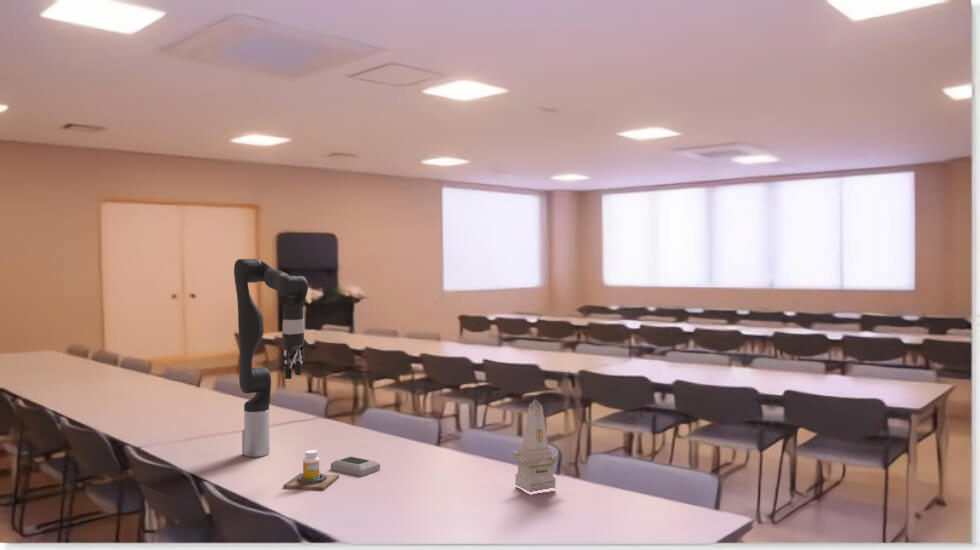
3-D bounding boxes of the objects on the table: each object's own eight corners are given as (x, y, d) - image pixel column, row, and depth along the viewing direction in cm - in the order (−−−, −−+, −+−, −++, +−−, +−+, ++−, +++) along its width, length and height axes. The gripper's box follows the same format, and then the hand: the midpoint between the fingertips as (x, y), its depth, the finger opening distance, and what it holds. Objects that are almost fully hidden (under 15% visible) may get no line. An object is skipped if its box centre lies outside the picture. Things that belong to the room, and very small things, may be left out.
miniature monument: (529, 496, 243) (530, 402, 242) (513, 487, 252) (513, 397, 251) (557, 491, 247) (557, 400, 246) (540, 482, 257) (540, 394, 256)
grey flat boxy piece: (361, 467, 263) (330, 460, 272) (361, 477, 263) (330, 470, 272) (380, 460, 271) (349, 454, 279) (380, 471, 271) (349, 464, 280)
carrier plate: (283, 488, 250) (283, 482, 250) (300, 475, 264) (300, 470, 264) (323, 490, 248) (323, 484, 248) (339, 477, 261) (339, 472, 261)
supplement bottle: (304, 477, 258) (304, 449, 258) (320, 477, 258) (320, 449, 258) (301, 482, 253) (301, 453, 252) (318, 482, 253) (318, 453, 253)
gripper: (291, 329, 279) (291, 373, 279) (274, 333, 265) (274, 379, 265) (310, 330, 277) (311, 374, 278) (294, 334, 263) (295, 380, 264)
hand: (293, 376), depth 272 cm, fingers open, 8 cm apart
